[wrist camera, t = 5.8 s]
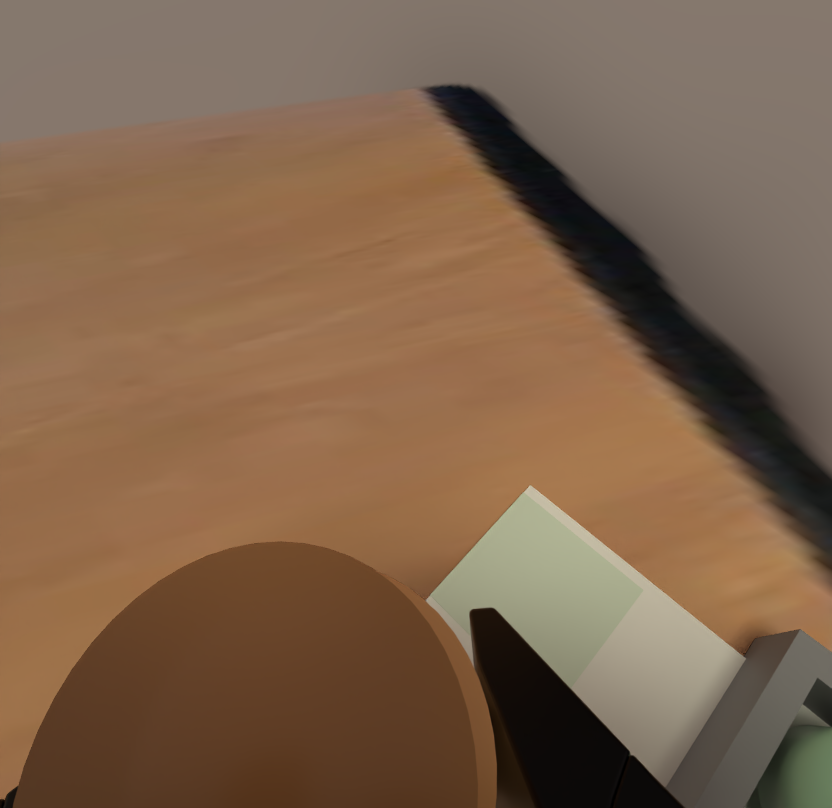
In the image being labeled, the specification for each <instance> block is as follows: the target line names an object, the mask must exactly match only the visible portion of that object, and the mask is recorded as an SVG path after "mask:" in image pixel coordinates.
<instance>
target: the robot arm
mask: <svg viewBox="0 0 832 808" xmlns="http://www.w3.org/2000/svg"><path fill="white" fill-rule="evenodd" d="M469 619H470V630H471V641H472V652H473V662H474V669H475V671H476V673H477V675H478V678H479V680H480V683H481V686H482V689H483V692H484V695H485V698H486V701H487V704H488V709H489V714H490V718H491V723H492V728H493V733H494V741H495V751H496V761H497V798H496V806H495V808H685V807H684V806H683V805H682V804H681V803H680V802H679V801H678V800H677V799H676V798H675V797H674V796H673V795H672V794H671V793H670V792H669V791H668V790H667V789H666V788H665V787H664V786H663V785H662V784H661V783H660V782H659V781H658V780H657V779H656V778H655V777H654V776H653V775H652V774H651V773H650V772H649V771H648V770H647V768H646V767H645V766H644V765H643V764H642V763H641V762H640V761H639V760H638V759H637V758H636V757H635V756H634V755H630V751H629V750H628V749H627V748H626V746H625V745H624V744H623V743H622V742H621V741H620V740H619V739H618V738H617V737H616V736H615V735H614V734H613V733H612V732H611V731H610V730H609V728H608V727H607V726H606V725H605V724H604V723H603V722H602V721H601V720H600V719H599V718H598V717H597V716H596V715H595V714H594V713H593V712H592V710H591V709H590V708H589V707H588V706H587V705H586V704H585V703H584V702H583V701H582V700H581V699H580V698H579V697H578V696H577V695H576V694H575V693H574V691H573V690H572V689H571V688H570V687H569V686H568V685H567V684H566V683H565V682H564V681H563V680H562V679H561V678H560V677H559V676H558V675H557V673H556V672H555V671H554V670H553V669H552V668H551V667H550V666H549V665H548V664H547V663H546V662H545V661H544V660H543V659H542V658H541V657H540V655H539V654H538V653H537V652H536V651H535V650H534V649H533V648H532V647H531V646H530V645H529V644H528V643H527V642H526V641H525V640H524V639H523V638H522V636H521V635H520V634H519V633H518V632H517V631H516V630H515V629H514V628H513V627H512V626H511V625H510V624H509V623H508V622H507V621H506V620H505V618H504V617H503V616H502V615H501V614H500V613H499V612H498V611H497V610H496V609H495V608H492V607H489V608H477V609H472V610H470V612H469ZM18 786H19V785H18ZM18 786H17V787H16V788H14V789H13V790H12V791H10V792H9V793H8V794H7V795H6V798H5V800H4V799H0V808H13V803H14V799H15V796H16V793H17V789H18Z"/></svg>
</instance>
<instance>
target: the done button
mask: <svg viewBox="0 0 832 808" xmlns="http://www.w3.org/2000/svg"><path fill="white" fill-rule="evenodd" d="M758 793H759V800H760V805H761V808H832V727H827V726H813V725H804V726H797V727H793V728H790V729H788V731H787V733H786V734H785V736H784V738H783V740H782V741H781V743H780V745H779V747H778V748H777V750H776V752H775V754H774V756H773V757H772V759H771V761H770V763H769V764H768V766H767V768H766V770H765V772H764V773H763V775H762V777H761V779H760V780H759V782H758Z"/></svg>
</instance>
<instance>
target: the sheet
mask: <svg viewBox="0 0 832 808" xmlns="http://www.w3.org/2000/svg"><path fill="white" fill-rule="evenodd" d="M426 602H427V603H428V604H429V605H430V606H431V607H432V608H433V609H435V610H436V611H437V612H438V613H439V614H440V616H441V617H442V618H443V619H444V621H445V622H446V623H447V624H448V626H449V627H450V628H451V629H452V630H453V632H454V633H455V635H456V636H457V638H458V640H459V641H460V643H461V644H462V646H463V648H464V649H465V651H466V652H467V654H468V656H469V658H470V660H471V663H472V665H473V667H474V662H473V652H472V641H471V630H470V619H469V612H470V610H472V609H477V608H489V607H492V608H495V609H496V610H497V611H498V612H499V613H500V614H501V615H502V616H503V617H504V618H505V620H506V621H507V622H508V623H509V624H510V625H511V626H512V627H513V628H514V629H515V630H516V631H517V632H518V633H519V634H520V635H521V636H522V638H523V639H524V640H525V641H526V642H527V643H528V644H529V645H530V646H531V647H532V648H533V649H534V650H535V651H536V652H537V653H538V654H539V655H540V657H541V658H542V659H543V660H544V661H545V662H546V663H547V664H548V665H549V666H550V667H551V668H552V669H553V670H554V671H555V672H556V673H557V675H558V676H559V677H560V678H561V679H562V680H563V681H564V682H565V683H566V684H567V685H568V686H569V687H570V688H571V689H572V690H573V691H574V693H575V694H576V695H577V696H578V697H579V698H580V699H581V700H582V701H583V702H584V703H585V704H586V705H587V706H588V707H589V708H590V709H591V710H592V712H593V713H594V714H595V715H596V716H597V717H598V718H599V719H600V720H601V721H602V722H603V723H604V724H605V725H606V726H607V727H608V728H609V730H610V731H611V732H612V733H613V734H614V735H615V736H616V737H617V738H618V739H619V740H620V741H621V742H622V743H623V744H624V745H625V746H626V748H627V749H628V750H629V751H630V755H634V756H635V757H636V758H637V759H638V760H639V761H640V762H641V763H642V764H643V765H644V766H645V767H646V768H647V770H648V771H649V772H650V773H651V774H652V775H653V776H654V777H655V778H656V779H657V780H658V781H659V782H660V783H661V784H662V785H663V786H664V787H665V788H666V789H667V790H668V791H669V792H670V793H671V794H672V795H673V796H674V797H675V798H676V799H677V800H678V801H679V802H680V803H681V804H682V805H683V806H684V807H685V808H761V805H760V800H759V793H758V782H759V780H760V779H761V777H762V775H763V773H764V772H765V770H766V768H767V766H768V764H769V763H770V761H771V759H772V757H773V756H774V754H775V752H776V750H777V748H778V747H779V745H780V743H781V741H782V740H783V738H784V736H785V734H786V733H787V731H788V729H790V728H793V727H797V726H804V725H813V726H827V727H832V652H830V651H829V650H828V649H826V648H825V647H824V646H822V645H821V644H820V643H818V642H817V641H816V640H814V639H813V638H812V637H810V636H809V635H808V634H806V633H805V632H804V631H802V630H801V629H799V630H794V631H789V632H784V633H779V634H774V635H769V636H764V637H759V638H755V640H754V641H753V643H752V645H751V646H750V648H749V649H748V651H747V652H746V654H745V656H744V657H743V656H742V655H741V654H740V653H738V652H737V651H736V650H735V649H733V648H732V647H731V646H730V645H728V644H727V643H726V642H725V641H723V640H722V639H721V638H720V637H718V636H717V635H716V634H715V633H714V632H712V631H711V630H710V629H709V628H707V627H706V626H705V625H704V624H702V623H701V622H700V621H699V620H697V619H696V618H695V617H694V616H692V615H691V614H690V613H689V612H687V611H686V610H685V609H684V608H682V607H681V606H680V605H679V604H677V603H676V602H675V601H674V600H673V599H671V598H670V597H669V596H668V595H666V594H665V593H664V592H663V591H661V590H660V589H659V588H658V587H656V586H655V585H654V584H653V583H651V582H650V581H649V580H648V579H646V578H645V577H644V576H643V575H641V574H640V573H639V572H638V571H636V570H635V569H634V568H633V567H632V566H630V565H629V564H628V563H627V562H625V561H624V560H623V559H622V558H620V557H619V556H618V555H617V554H615V553H614V552H613V551H612V550H610V549H609V548H608V547H607V546H605V545H604V544H603V543H602V542H600V541H599V540H598V539H597V538H595V537H594V536H593V535H592V534H591V533H589V532H588V531H587V530H586V529H584V528H583V527H582V526H581V525H579V524H578V523H577V522H576V521H574V520H573V519H572V518H571V517H569V516H568V515H567V514H566V513H564V512H563V511H562V510H561V509H559V508H558V507H557V506H556V505H555V504H553V503H552V502H551V501H550V500H548V499H547V498H546V497H545V496H543V495H542V494H541V493H540V492H538V491H537V490H536V489H535V488H533V487H532V486H531V485H530V486H529V487H528V488H527V489H526V490H525V492H523V493H522V494H521V495H520V497H519V498H518V499H517V500H516V501H515V502H514V503H513V504H512V505H511V506H510V508H509V509H508V510H507V511H506V512H505V513H504V514H503V515H502V516H501V517H500V519H499V520H498V521H497V522H496V523H495V524H494V525H493V526H492V527H491V528H490V530H489V531H488V532H487V533H486V534H485V535H484V536H483V537H482V538H481V539H480V541H479V542H478V543H477V544H476V545H475V546H474V547H473V548H472V549H471V550H470V552H469V553H468V554H467V555H466V556H465V557H464V558H463V559H462V560H461V561H460V563H459V564H458V565H457V566H456V567H455V568H454V569H453V570H452V571H451V572H450V574H449V575H448V576H447V577H446V578H445V579H444V580H443V581H442V582H441V583H440V585H439V586H438V587H437V588H436V589H435V590H434V591H433V592H432V593H431V594H430V596H429V597H428V598H427V599H426Z"/></svg>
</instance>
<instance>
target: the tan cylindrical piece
mask: <svg viewBox="0 0 832 808" xmlns="http://www.w3.org/2000/svg"><path fill="white" fill-rule="evenodd" d="M496 798H497V761H496V751H495V741H494V733H493V728H492V723H491V718H490V714H489V709H488V704H487V701H486V698H485V695H484V692H483V689H482V686H481V683H480V680H479V678H478V675H477V673H476V671H475V669H474V667H473V665H472V663H471V660H470V658H469V656H468V654H467V652H466V651H465V649H464V648H463V646H462V644H461V643H460V641H459V640H458V638H457V636H456V635H455V633H454V632H453V630H452V629H451V628H450V627H449V626H448V624H447V623H446V622H445V621H444V619H443V618H442V617H441V616H440V614H439V613H438V612H437V611H436V610H435V609H433V608H432V607H431V606H430V605H429V604H428V603H427V602H426V601H425V600H424V599H423V598H422V597H420V596H419V595H418V594H416V593H415V592H414V591H412V590H411V589H409V588H408V587H407V586H405V585H404V584H402V583H400V582H398V581H396V580H394V579H393V578H391V577H389V576H387V575H385V574H382V573H379V572H377V571H375V570H374V569H373V568H371V567H369V566H367V565H365V564H363V563H361V562H360V561H358V560H356V559H354V558H352V557H350V556H347V555H345V554H342V553H339V552H336V551H334V550H331V549H328V548H324V547H319V546H315V545H310V544H305V543H293V542H266V543H254V544H249V545H244V546H239V547H234V548H230V549H226V550H223V551H220V552H217V553H214V554H211V555H208V556H205V557H203V558H201V559H199V560H197V561H195V562H192V563H190V564H188V565H186V566H184V567H182V568H180V569H178V570H177V571H175V572H173V573H172V574H170V575H168V576H167V577H165V578H163V579H162V580H160V581H158V582H157V583H156V584H154V585H153V586H152V587H150V588H149V589H148V590H146V591H145V592H144V593H142V594H141V595H140V596H138V597H137V598H136V599H135V600H134V601H132V602H131V603H130V604H129V605H128V606H127V607H126V608H125V609H124V610H123V611H122V612H120V613H119V614H118V615H117V616H116V617H115V618H114V619H113V620H112V621H111V622H110V623H109V624H108V626H107V627H106V628H105V629H104V630H103V631H102V632H101V633H100V634H99V635H98V637H97V638H96V639H95V640H94V641H93V642H92V643H91V645H90V646H89V647H88V649H87V650H86V651H85V653H84V654H83V655H82V657H81V658H80V659H79V661H78V662H77V663H76V665H75V666H74V667H73V669H72V670H71V672H70V674H69V675H68V677H67V678H66V680H65V682H64V683H63V685H62V687H61V688H60V690H59V691H58V693H57V695H56V696H55V698H54V700H53V702H52V704H51V706H50V708H49V710H48V712H47V714H46V716H45V718H44V720H43V722H42V724H41V726H40V728H39V730H38V732H37V735H36V737H35V740H34V742H33V745H32V747H31V750H30V752H29V755H28V758H27V760H26V763H25V765H24V768H23V772H22V775H21V779H20V782H19V786H18V789H17V793H16V796H15V799H14V803H13V808H495V806H496Z"/></svg>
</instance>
